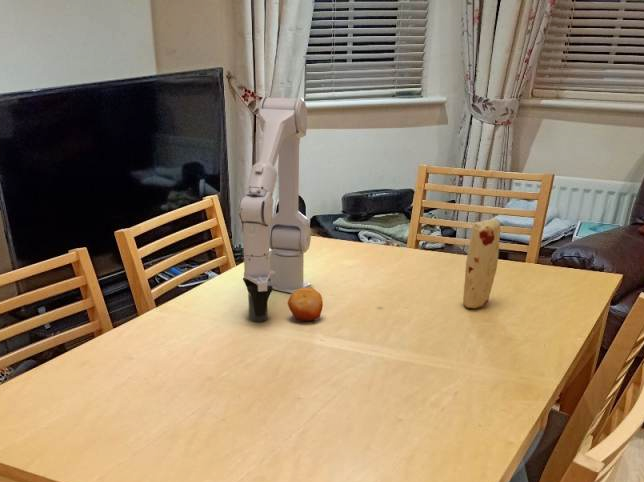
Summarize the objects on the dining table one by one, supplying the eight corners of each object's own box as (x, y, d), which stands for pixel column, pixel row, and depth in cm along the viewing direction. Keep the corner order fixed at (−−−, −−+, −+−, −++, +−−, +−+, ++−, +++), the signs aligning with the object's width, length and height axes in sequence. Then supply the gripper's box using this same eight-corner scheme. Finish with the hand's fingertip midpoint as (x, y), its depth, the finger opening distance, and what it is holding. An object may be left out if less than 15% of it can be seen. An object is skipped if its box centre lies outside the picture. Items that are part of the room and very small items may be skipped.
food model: (480, 313, 179) (492, 226, 168) (454, 308, 182) (464, 222, 171) (496, 301, 186) (509, 217, 174) (471, 296, 189) (482, 213, 177)
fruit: (324, 304, 181) (323, 281, 174) (322, 331, 178) (321, 309, 170) (290, 303, 182) (288, 280, 174) (288, 330, 178) (285, 308, 171)
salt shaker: (245, 319, 177) (244, 292, 173) (256, 313, 180) (255, 287, 176) (260, 323, 175) (259, 295, 171) (271, 317, 178) (271, 290, 174)
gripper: (280, 261, 164) (281, 321, 171) (268, 242, 175) (269, 300, 183) (248, 263, 163) (250, 324, 170) (238, 244, 174) (240, 302, 182)
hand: (258, 312), depth 177 cm, fingers closed on salt shaker, 4 cm apart
